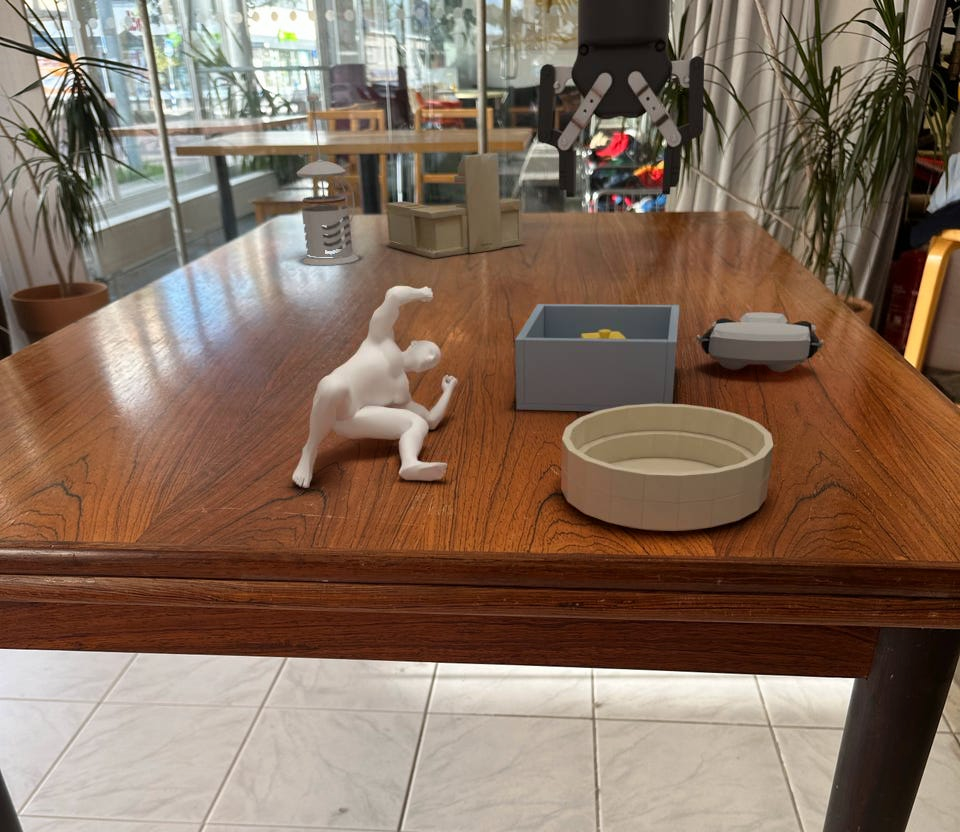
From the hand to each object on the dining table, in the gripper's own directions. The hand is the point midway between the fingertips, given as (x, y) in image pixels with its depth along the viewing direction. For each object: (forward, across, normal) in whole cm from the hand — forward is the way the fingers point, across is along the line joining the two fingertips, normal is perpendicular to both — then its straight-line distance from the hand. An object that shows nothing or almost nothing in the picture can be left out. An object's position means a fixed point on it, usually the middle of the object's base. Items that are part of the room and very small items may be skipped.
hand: (617, 195), depth 85 cm
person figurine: (+18, +18, +19) cm, 32 cm away
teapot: (+17, +2, 0) cm, 17 cm away
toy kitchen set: (+17, +34, -83) cm, 92 cm away
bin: (+18, +1, 0) cm, 18 cm away
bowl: (+18, -6, +26) cm, 32 cm away
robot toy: (+18, -15, -11) cm, 26 cm away
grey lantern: (+17, +53, -71) cm, 91 cm away
